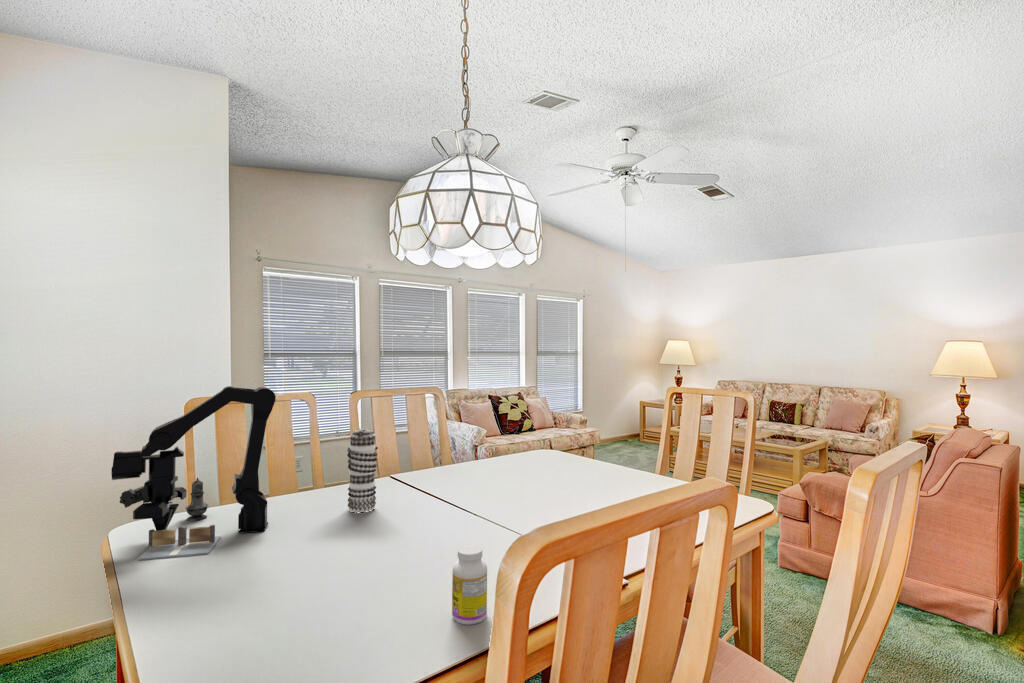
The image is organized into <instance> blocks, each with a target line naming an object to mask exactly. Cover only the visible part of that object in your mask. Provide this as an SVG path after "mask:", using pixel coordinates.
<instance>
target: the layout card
mask: <svg viewBox="0 0 1024 683" xmlns="http://www.w3.org/2000/svg"><path fill="white" fill-rule="evenodd" d="M221 538H222V536H221V535H217V536H216V535H215V542H213V543H210V542H209V541H207V542H195V543H189V538H186V544H185V545H182V546H179V545H178V539H175V544H171V545H159V546H149V548H148V549H146V550H145V551H144V552H143V553H142V554H141V555H140V556H138V558H137V561H146V560H147V561H148V560H159V559H167V558H169V559H170V558H181V557H192V556H202V555H209V554H210V553H211V552H212V550H213V549H214V548H215V546H216V545H217V544H218V542H219V541H220V539H221Z"/></svg>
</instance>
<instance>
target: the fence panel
mask: <svg viewBox="0 0 1024 683" xmlns="http://www.w3.org/2000/svg"><path fill="white" fill-rule="evenodd" d="M175 540H176V528H171V529H166V530H156V529H155V528H154V529H153V528H151V529H149V530H148V547H151V546H159V545H171V544H175Z"/></svg>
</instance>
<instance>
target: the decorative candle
mask: <svg viewBox="0 0 1024 683" xmlns="http://www.w3.org/2000/svg"><path fill="white" fill-rule="evenodd" d="M376 435H377V433H375V432H374V430H373V429H370V428H358V429H355V430H353V431H352V433H351V434H349V437H350V441H349V443H350V444H349V447H348V448H347V452H348V453H347V457H348V460H347V464H348V465H347V468H348V474H349V484H348V488H347V491H348V493H347V495H348V498H347V502H348V504H347V507H348V509H347V511H348V510H349V511H350V512H349V511H348V512H349V513H351V512H366V511H370V510H373V509H374V508H375V509H376V504H377V502H376V501H377V500H376V499H377V496H375V495H376V493H377V492H376V488H377V486H376V480H375V473H377V469H376V468H377V467H378V466H377V464H376V463H375V462H376V461H377V460H378V458H377V456H378V453H377V452H376V451H377V450H378V449H379V448H378V446H376Z"/></svg>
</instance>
